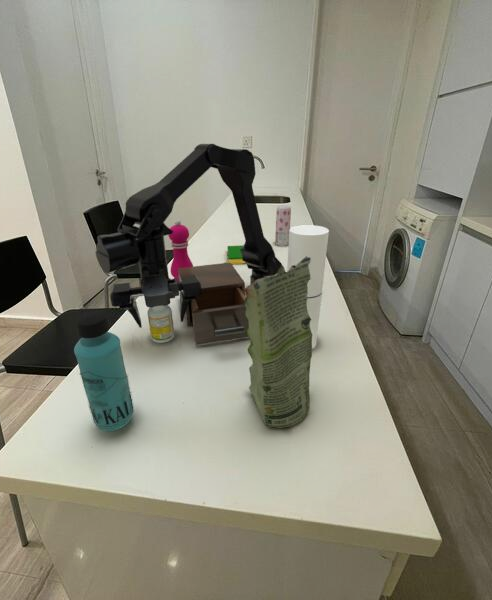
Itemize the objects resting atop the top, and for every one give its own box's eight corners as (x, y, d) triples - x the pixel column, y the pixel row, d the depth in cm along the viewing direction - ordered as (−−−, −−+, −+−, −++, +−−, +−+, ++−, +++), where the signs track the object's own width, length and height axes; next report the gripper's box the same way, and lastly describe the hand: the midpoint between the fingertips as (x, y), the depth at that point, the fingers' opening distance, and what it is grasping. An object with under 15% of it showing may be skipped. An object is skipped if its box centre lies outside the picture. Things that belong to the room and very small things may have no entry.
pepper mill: (191, 289, 99) (185, 222, 90) (168, 287, 101) (160, 222, 92) (197, 279, 106) (193, 216, 96) (176, 278, 107) (169, 216, 98)
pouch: (244, 430, 52) (244, 285, 40) (244, 379, 62) (243, 253, 51) (316, 431, 51) (336, 284, 40) (303, 379, 62) (316, 251, 50)
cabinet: (245, 317, 83) (245, 282, 79) (187, 326, 80) (183, 290, 76) (231, 293, 96) (230, 262, 91) (181, 300, 93) (177, 268, 89)
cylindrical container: (296, 355, 69) (306, 237, 57) (276, 338, 74) (281, 228, 63) (323, 345, 71) (337, 231, 60) (301, 329, 77) (311, 223, 66)
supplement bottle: (167, 345, 73) (162, 307, 69) (146, 340, 75) (140, 303, 71) (178, 332, 78) (174, 296, 73) (159, 329, 80) (154, 293, 75)
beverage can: (291, 243, 136) (293, 206, 129) (285, 246, 132) (287, 208, 125) (278, 241, 139) (280, 204, 132) (272, 244, 135) (274, 207, 128)
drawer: (261, 347, 70) (262, 315, 66) (198, 357, 67) (196, 324, 64) (239, 308, 86) (238, 280, 82) (187, 315, 83) (185, 287, 80)
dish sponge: (245, 251, 129) (245, 245, 128) (248, 263, 117) (248, 257, 116) (227, 251, 129) (227, 245, 128) (228, 264, 117) (227, 257, 116)
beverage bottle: (100, 410, 57) (72, 307, 48) (139, 406, 57) (119, 304, 48) (90, 441, 51) (56, 331, 42) (133, 437, 51) (109, 327, 42)
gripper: (100, 279, 59) (116, 350, 66) (203, 267, 62) (208, 336, 70) (106, 258, 69) (119, 323, 76) (195, 249, 72) (200, 311, 79)
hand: (161, 323), depth 75 cm, fingers open, 9 cm apart
